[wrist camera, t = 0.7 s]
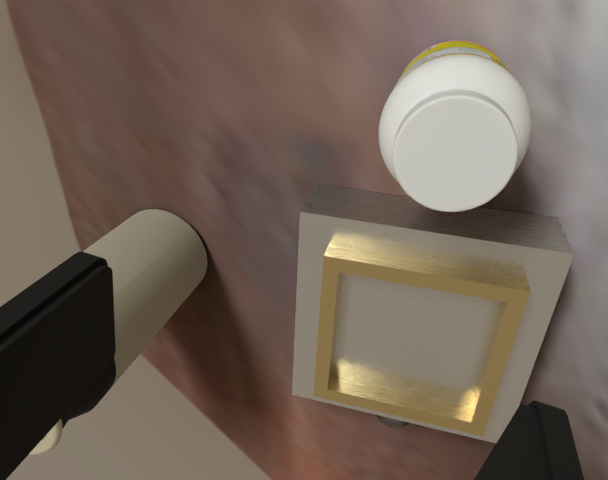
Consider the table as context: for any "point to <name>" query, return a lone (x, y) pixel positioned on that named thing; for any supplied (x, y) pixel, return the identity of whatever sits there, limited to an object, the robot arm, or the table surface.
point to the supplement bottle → (455, 127)
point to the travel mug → (140, 293)
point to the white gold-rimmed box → (423, 308)
